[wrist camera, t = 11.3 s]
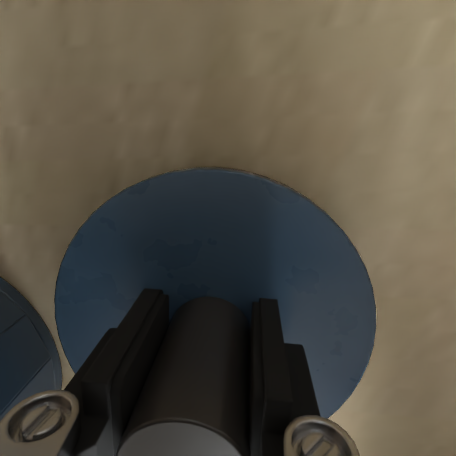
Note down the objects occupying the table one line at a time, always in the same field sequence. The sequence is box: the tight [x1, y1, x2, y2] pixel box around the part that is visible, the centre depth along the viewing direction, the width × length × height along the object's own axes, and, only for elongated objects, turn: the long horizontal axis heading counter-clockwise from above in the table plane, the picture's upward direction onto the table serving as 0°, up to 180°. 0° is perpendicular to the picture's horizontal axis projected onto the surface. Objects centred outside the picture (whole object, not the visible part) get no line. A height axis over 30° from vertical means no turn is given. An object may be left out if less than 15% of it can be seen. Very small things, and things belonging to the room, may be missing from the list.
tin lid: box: [54, 167, 376, 456], centre depth 9 cm, size 10×10×6 cm
